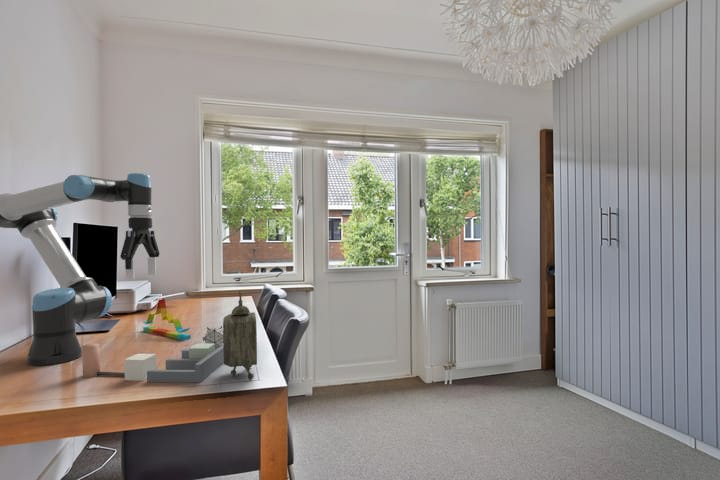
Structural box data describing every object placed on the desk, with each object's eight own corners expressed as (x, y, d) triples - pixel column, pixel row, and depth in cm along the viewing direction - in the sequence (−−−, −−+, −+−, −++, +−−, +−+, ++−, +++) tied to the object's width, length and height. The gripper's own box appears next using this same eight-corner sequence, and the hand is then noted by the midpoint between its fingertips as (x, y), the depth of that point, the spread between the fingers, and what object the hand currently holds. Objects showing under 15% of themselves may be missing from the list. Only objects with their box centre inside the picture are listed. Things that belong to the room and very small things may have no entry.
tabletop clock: (257, 380, 121) (255, 293, 120) (223, 384, 118) (222, 294, 118) (254, 365, 134) (253, 286, 134) (225, 368, 132) (223, 288, 131)
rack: (147, 381, 121) (146, 364, 121) (183, 358, 143) (183, 343, 143) (200, 382, 120) (200, 364, 120) (229, 358, 142) (228, 343, 142)
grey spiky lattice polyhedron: (217, 360, 153) (217, 342, 147) (197, 350, 155) (196, 332, 149) (232, 342, 160) (232, 325, 154) (212, 334, 162) (212, 316, 156)
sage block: (189, 367, 134) (188, 348, 134) (197, 361, 140) (197, 343, 140) (207, 367, 134) (207, 348, 133) (215, 361, 140) (215, 343, 139)
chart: (191, 339, 170) (190, 302, 169) (184, 341, 167) (183, 303, 167) (150, 330, 187) (149, 296, 187) (143, 331, 185) (142, 297, 184)
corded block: (77, 378, 124) (76, 347, 124) (92, 371, 130) (91, 342, 130) (144, 380, 122) (143, 349, 122) (156, 373, 128) (156, 344, 128)
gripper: (129, 215, 139) (130, 280, 139) (168, 218, 164) (169, 273, 164) (107, 216, 139) (108, 280, 140) (149, 218, 164) (150, 273, 165)
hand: (141, 276), depth 152 cm, fingers open, 13 cm apart
